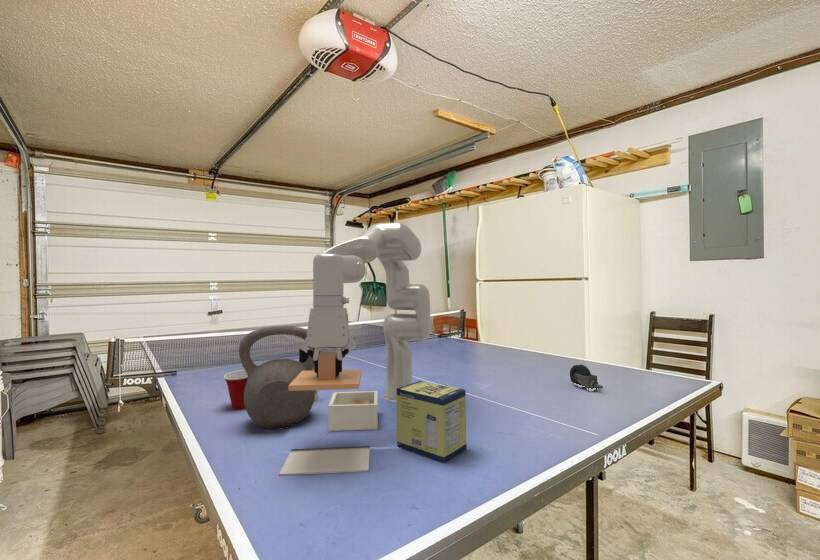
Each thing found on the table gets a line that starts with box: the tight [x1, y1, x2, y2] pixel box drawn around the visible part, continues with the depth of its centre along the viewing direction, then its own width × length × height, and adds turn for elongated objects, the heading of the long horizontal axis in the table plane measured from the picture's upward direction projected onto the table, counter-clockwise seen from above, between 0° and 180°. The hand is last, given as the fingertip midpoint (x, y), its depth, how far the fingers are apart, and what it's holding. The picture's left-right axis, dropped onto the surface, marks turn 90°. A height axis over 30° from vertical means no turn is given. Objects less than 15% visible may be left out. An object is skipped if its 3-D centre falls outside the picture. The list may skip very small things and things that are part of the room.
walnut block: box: [350, 400, 370, 404], centre depth 120 cm, size 6×6×5 cm
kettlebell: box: [238, 325, 315, 430], centre depth 120 cm, size 24×17×30 cm
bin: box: [327, 390, 379, 432], centre depth 118 cm, size 14×14×8 cm
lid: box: [289, 350, 363, 391], centre depth 97 cm, size 16×16×7 cm
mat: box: [278, 445, 371, 477], centre depth 98 cm, size 20×20×1 cm
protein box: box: [396, 380, 468, 464], centre depth 101 cm, size 10×16×16 cm
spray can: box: [298, 346, 319, 402], centre depth 141 cm, size 7×7×20 cm
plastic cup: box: [223, 369, 248, 410], centre depth 136 cm, size 11×11×12 cm
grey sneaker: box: [569, 364, 604, 390], centre depth 154 cm, size 6×10×15 cm
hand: (328, 374), depth 97 cm, fingers closed on lid, 4 cm apart
